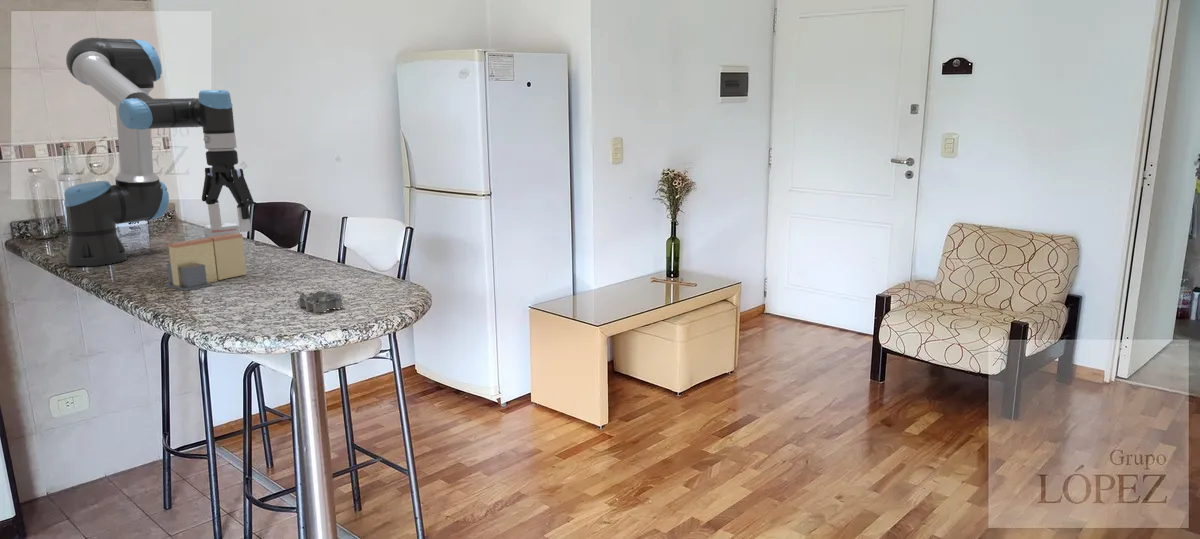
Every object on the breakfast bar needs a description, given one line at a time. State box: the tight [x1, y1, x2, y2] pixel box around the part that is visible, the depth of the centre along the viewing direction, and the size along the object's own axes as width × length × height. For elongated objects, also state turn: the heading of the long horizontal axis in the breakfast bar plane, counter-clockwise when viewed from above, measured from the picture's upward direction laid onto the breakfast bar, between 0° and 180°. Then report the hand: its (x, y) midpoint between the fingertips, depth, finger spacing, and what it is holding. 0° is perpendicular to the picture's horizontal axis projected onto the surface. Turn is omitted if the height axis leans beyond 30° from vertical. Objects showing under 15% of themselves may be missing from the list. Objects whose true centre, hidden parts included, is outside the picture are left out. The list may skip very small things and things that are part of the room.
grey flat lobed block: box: [295, 288, 343, 313], centre depth 181 cm, size 11×8×4 cm
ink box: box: [203, 222, 241, 238], centre depth 227 cm, size 9×5×12 cm, turn 130°
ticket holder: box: [163, 237, 218, 292], centre depth 203 cm, size 10×10×11 cm
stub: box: [208, 233, 247, 281], centre depth 211 cm, size 3×8×11 cm, turn 146°
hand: (230, 229), depth 211 cm, fingers open, 13 cm apart
